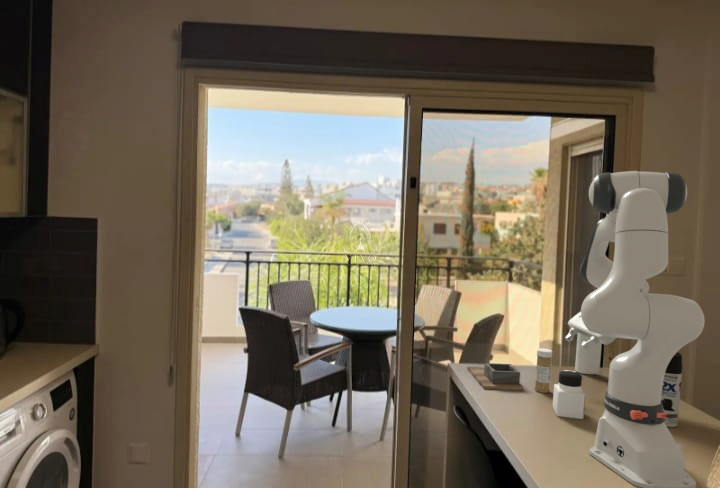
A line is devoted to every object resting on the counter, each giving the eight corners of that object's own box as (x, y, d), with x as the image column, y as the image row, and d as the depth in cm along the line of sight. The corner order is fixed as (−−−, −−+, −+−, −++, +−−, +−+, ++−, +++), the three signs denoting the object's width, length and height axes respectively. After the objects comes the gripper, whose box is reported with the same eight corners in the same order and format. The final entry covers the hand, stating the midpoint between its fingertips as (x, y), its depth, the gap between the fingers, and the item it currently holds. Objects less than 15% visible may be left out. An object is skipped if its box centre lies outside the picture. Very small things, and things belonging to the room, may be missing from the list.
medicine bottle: (583, 419, 140) (587, 377, 139) (556, 416, 141) (559, 374, 140) (578, 410, 147) (581, 369, 146) (552, 407, 148) (555, 367, 147)
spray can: (650, 424, 139) (656, 353, 137) (649, 416, 145) (655, 347, 143) (678, 430, 136) (685, 357, 134) (676, 421, 142) (682, 351, 140)
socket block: (523, 390, 161) (524, 374, 161) (483, 388, 161) (484, 373, 160) (502, 370, 181) (503, 356, 181) (467, 369, 181) (468, 355, 180)
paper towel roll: (571, 370, 186) (575, 313, 185) (582, 368, 189) (587, 312, 187) (587, 376, 179) (592, 317, 178) (599, 374, 182) (603, 316, 181)
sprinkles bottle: (539, 387, 165) (542, 347, 164) (552, 391, 161) (555, 350, 161) (531, 390, 162) (534, 349, 161) (544, 394, 159) (547, 352, 158)
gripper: (581, 301, 172) (552, 329, 172) (619, 314, 152) (586, 345, 152) (593, 314, 173) (564, 342, 173) (631, 328, 153) (599, 360, 152)
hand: (574, 343), depth 162 cm, fingers open, 8 cm apart
